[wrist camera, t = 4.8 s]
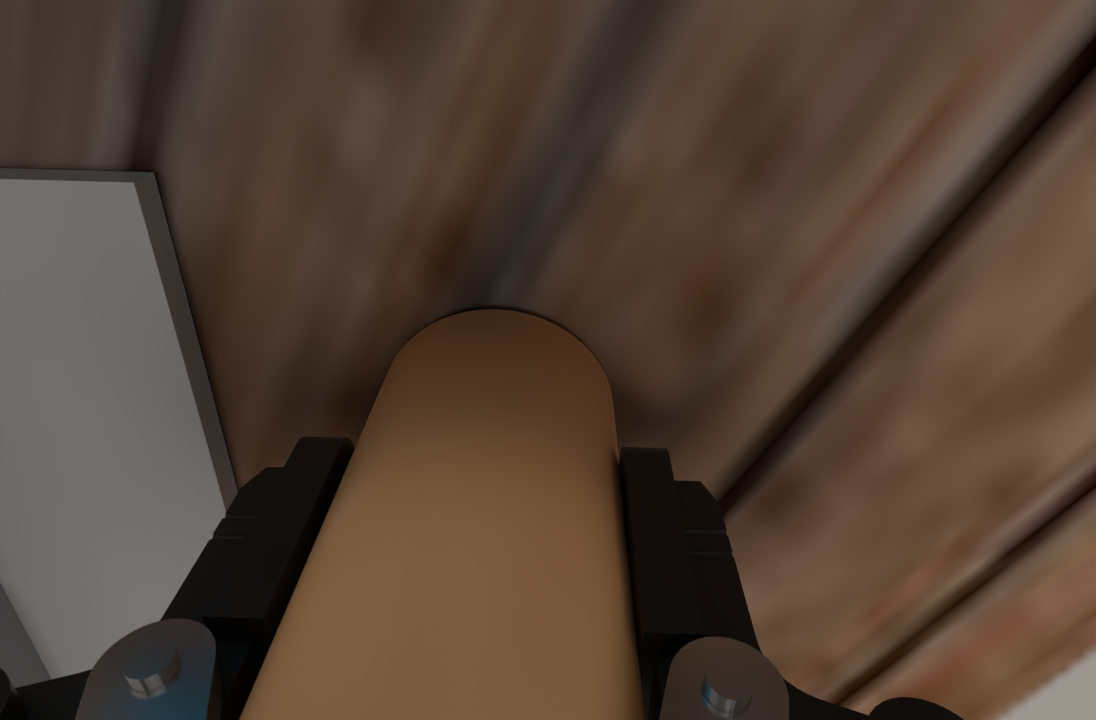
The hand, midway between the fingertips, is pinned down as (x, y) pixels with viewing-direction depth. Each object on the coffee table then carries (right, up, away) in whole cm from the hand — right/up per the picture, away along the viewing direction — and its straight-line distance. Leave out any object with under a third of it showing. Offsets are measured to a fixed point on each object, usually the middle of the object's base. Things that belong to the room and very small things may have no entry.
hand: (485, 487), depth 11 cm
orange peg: (0, +1, +2) cm, 2 cm away
